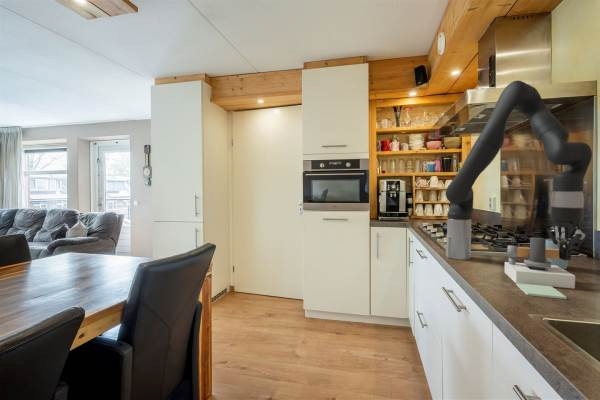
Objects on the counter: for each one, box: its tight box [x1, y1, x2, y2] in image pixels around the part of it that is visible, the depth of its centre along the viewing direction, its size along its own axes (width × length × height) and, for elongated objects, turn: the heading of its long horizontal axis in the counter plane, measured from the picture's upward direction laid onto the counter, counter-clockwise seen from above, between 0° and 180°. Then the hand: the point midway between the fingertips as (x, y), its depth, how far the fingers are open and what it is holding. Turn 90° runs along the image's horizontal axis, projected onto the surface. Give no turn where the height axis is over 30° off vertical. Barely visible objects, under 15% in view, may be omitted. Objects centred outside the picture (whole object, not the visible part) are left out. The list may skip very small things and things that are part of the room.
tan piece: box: [506, 245, 560, 259], centre depth 99 cm, size 14×3×4 cm, turn 69°
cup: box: [545, 238, 569, 270], centre depth 110 cm, size 8×8×10 cm
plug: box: [523, 237, 551, 271], centre depth 96 cm, size 7×7×14 cm
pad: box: [515, 283, 568, 300], centre depth 86 cm, size 9×9×1 cm
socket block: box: [504, 257, 576, 290], centre depth 96 cm, size 15×12×6 cm
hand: (564, 259), depth 92 cm, fingers closed
